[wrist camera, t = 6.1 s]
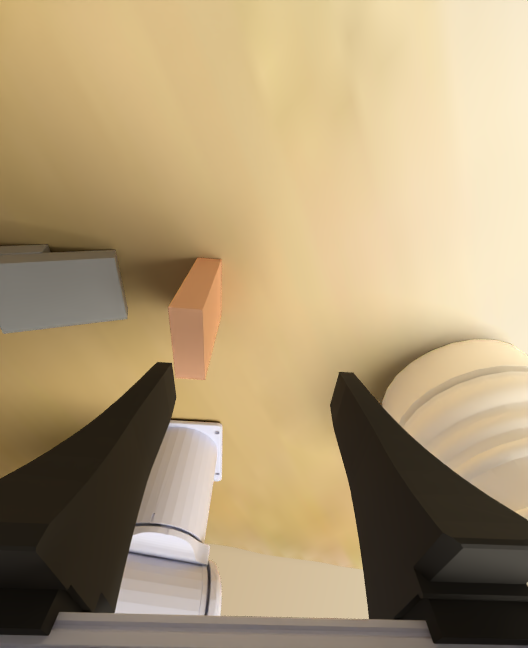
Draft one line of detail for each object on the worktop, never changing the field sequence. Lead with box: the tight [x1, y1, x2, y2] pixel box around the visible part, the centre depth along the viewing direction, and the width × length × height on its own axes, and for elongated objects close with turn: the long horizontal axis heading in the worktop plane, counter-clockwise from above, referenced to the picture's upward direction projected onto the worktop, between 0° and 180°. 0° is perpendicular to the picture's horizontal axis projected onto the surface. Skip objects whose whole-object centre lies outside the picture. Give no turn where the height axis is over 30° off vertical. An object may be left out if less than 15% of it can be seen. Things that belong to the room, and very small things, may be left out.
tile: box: [168, 258, 222, 380], centre depth 17 cm, size 4×2×7 cm, turn 175°
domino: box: [0, 250, 128, 334], centre depth 18 cm, size 4×2×7 cm
